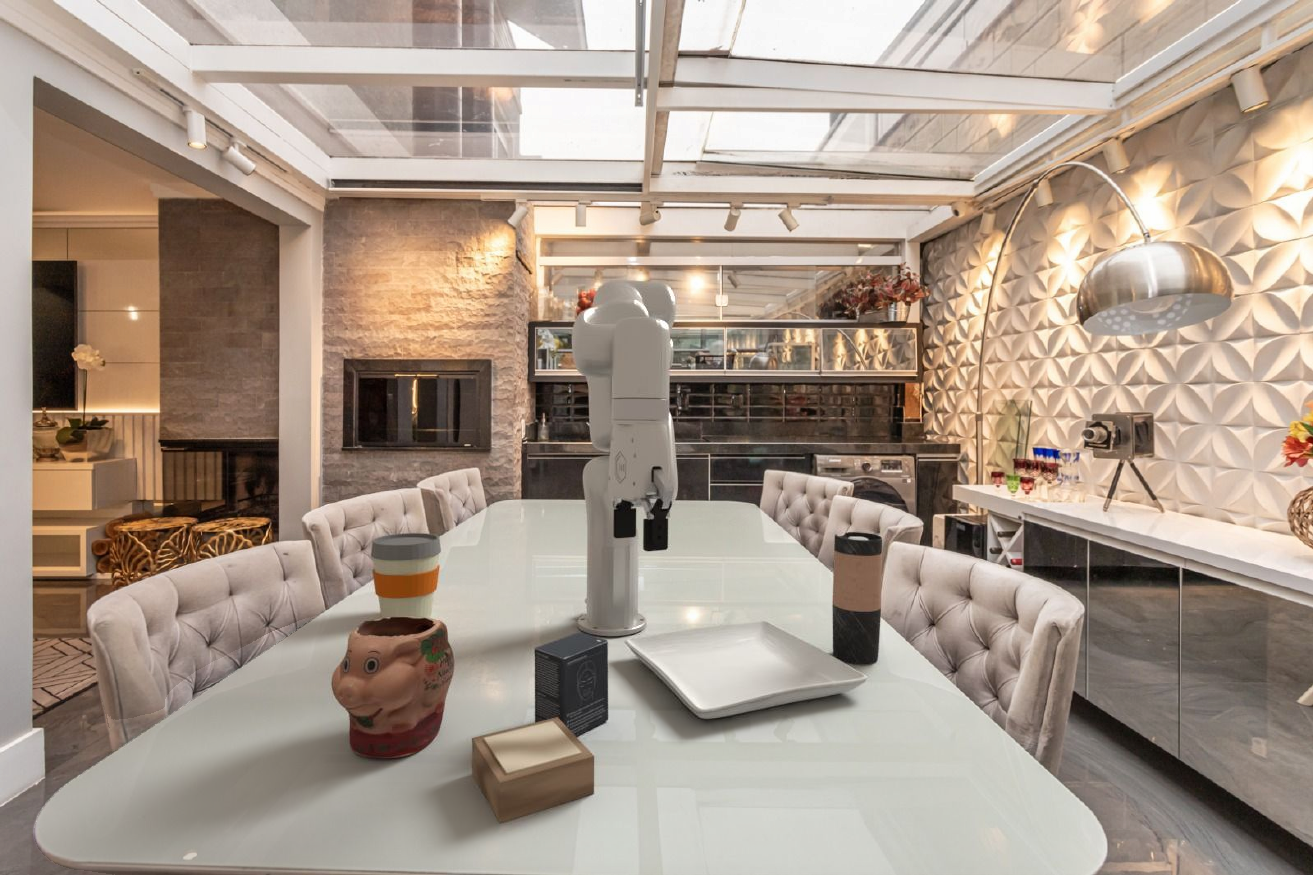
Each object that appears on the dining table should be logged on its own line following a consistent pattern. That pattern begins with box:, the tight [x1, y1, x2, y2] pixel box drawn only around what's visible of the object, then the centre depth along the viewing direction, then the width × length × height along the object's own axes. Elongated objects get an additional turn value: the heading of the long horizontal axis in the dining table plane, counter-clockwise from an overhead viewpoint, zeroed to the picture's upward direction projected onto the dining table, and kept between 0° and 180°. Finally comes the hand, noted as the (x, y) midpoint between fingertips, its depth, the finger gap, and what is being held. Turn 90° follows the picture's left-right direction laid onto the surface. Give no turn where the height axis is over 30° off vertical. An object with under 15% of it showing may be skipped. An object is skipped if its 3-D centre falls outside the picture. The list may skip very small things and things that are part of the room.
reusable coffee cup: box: [370, 532, 442, 619], centre depth 126 cm, size 13×12×15 cm
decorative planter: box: [331, 616, 455, 759], centre depth 81 cm, size 20×12×14 cm, turn 173°
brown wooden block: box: [471, 717, 595, 824], centre depth 70 cm, size 10×10×4 cm
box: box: [534, 631, 609, 737], centre depth 83 cm, size 8×6×11 cm
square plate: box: [624, 620, 868, 720], centre depth 100 cm, size 27×27×4 cm
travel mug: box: [832, 531, 883, 666], centre depth 108 cm, size 8×8×20 cm
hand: (639, 543), depth 87 cm, fingers open, 9 cm apart
